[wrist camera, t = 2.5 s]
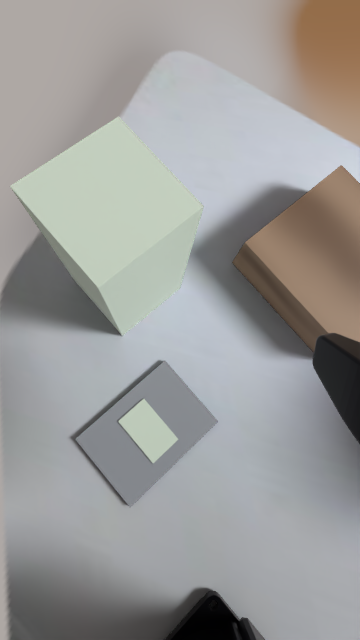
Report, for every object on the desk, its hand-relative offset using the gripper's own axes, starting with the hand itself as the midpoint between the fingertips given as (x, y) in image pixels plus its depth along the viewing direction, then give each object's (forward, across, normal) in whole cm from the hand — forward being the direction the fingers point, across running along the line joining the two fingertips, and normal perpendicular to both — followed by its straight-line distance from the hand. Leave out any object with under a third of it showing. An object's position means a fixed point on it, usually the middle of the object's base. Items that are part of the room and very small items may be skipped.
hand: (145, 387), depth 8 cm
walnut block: (+13, -14, +6) cm, 20 cm away
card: (+7, 0, +11) cm, 13 cm away
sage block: (+14, 0, +4) cm, 15 cm away
